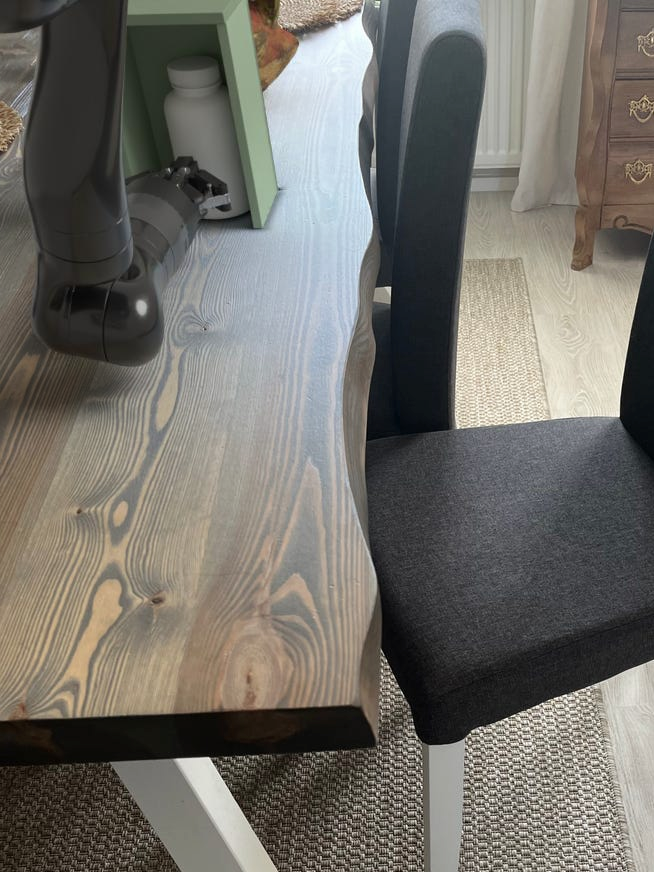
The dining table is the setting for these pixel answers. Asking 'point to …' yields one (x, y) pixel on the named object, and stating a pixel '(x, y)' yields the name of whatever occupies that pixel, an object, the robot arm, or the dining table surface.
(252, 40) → the cabinet
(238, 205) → the pill bottle
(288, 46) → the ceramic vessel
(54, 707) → the dining table surface
